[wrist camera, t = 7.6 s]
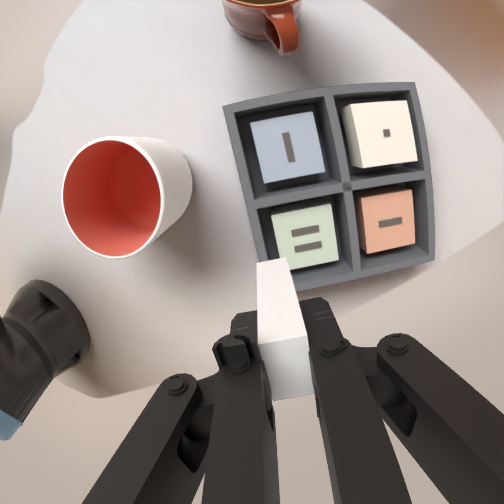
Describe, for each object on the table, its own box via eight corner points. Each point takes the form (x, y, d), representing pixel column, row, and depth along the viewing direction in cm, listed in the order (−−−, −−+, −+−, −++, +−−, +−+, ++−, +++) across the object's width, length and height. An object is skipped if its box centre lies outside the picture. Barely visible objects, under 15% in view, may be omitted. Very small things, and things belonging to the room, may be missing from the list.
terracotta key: (357, 243, 30) (367, 254, 27) (350, 192, 29) (361, 198, 25) (401, 233, 30) (415, 243, 26) (397, 185, 28) (412, 190, 25)
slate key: (264, 179, 29) (264, 183, 25) (251, 126, 27) (249, 122, 23) (318, 169, 28) (325, 171, 25) (306, 115, 26) (312, 111, 23)
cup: (214, 174, 29) (191, 187, 20) (161, 244, 32) (125, 282, 23) (144, 121, 27) (96, 112, 18) (99, 193, 30) (46, 212, 21)
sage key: (280, 258, 31) (282, 271, 28) (270, 208, 30) (271, 216, 26) (331, 248, 31) (339, 260, 27) (323, 197, 29) (331, 204, 26)
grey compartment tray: (267, 275, 33) (267, 297, 28) (229, 113, 27) (222, 106, 22) (413, 244, 31) (434, 260, 26) (392, 90, 25) (414, 82, 20)
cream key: (351, 165, 26) (363, 168, 22) (340, 109, 24) (350, 104, 21) (401, 158, 25) (418, 160, 22) (391, 104, 23) (407, 100, 20)
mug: (212, -1, 22) (192, -50, 12) (287, -18, 21) (295, -69, 11) (243, 85, 26) (233, 54, 16) (324, 66, 25) (351, 31, 15)
